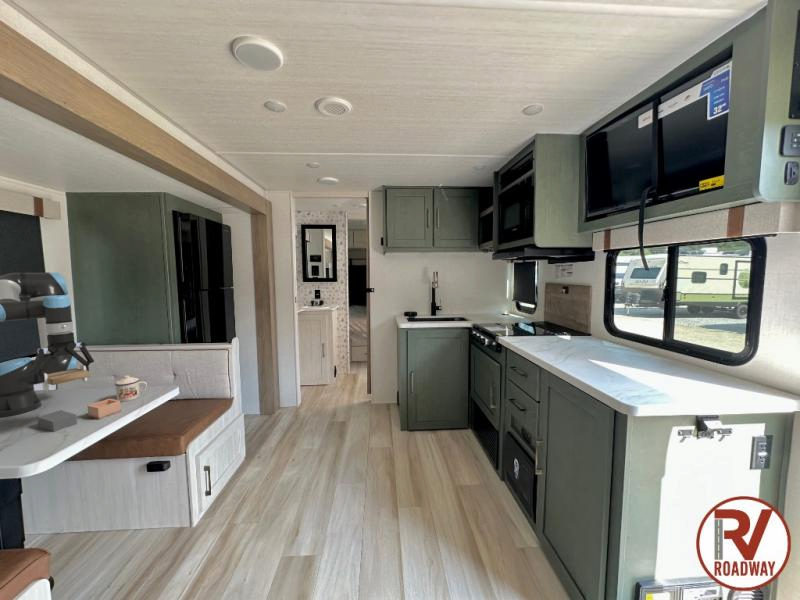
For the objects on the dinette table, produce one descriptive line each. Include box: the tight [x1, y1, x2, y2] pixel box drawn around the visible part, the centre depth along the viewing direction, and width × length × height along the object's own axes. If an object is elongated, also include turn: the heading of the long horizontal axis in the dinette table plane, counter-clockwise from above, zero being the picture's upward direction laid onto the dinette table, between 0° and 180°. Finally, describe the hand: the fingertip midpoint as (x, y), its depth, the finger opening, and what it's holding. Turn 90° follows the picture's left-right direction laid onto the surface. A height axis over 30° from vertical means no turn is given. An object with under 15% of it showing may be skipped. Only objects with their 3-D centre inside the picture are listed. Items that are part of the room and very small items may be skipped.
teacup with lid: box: [114, 374, 148, 403], centre depth 158 cm, size 12×9×12 cm
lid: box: [47, 367, 90, 386], centre depth 131 cm, size 11×11×2 cm
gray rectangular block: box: [37, 409, 78, 432], centre depth 130 cm, size 12×7×4 cm, turn 69°
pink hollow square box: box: [87, 398, 122, 420], centre depth 140 cm, size 8×8×5 cm
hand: (66, 384), depth 131 cm, fingers closed on lid, 11 cm apart
